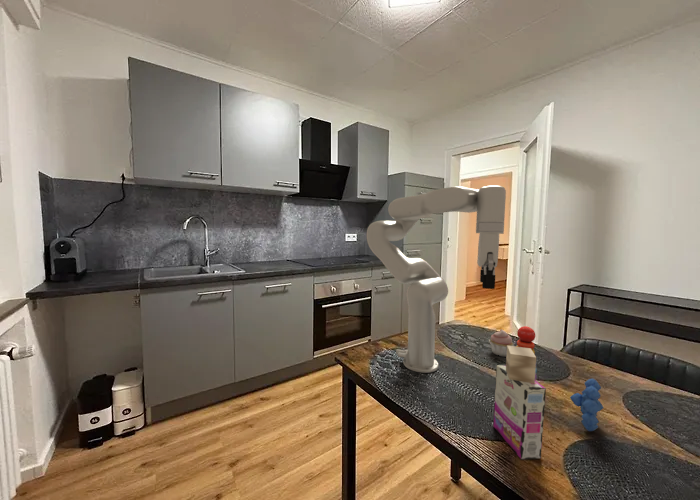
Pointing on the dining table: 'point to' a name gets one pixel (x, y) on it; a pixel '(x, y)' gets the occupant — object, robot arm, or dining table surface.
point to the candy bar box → (519, 414)
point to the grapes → (589, 404)
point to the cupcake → (500, 343)
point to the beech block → (520, 364)
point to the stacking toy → (526, 339)
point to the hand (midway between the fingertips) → (486, 285)
